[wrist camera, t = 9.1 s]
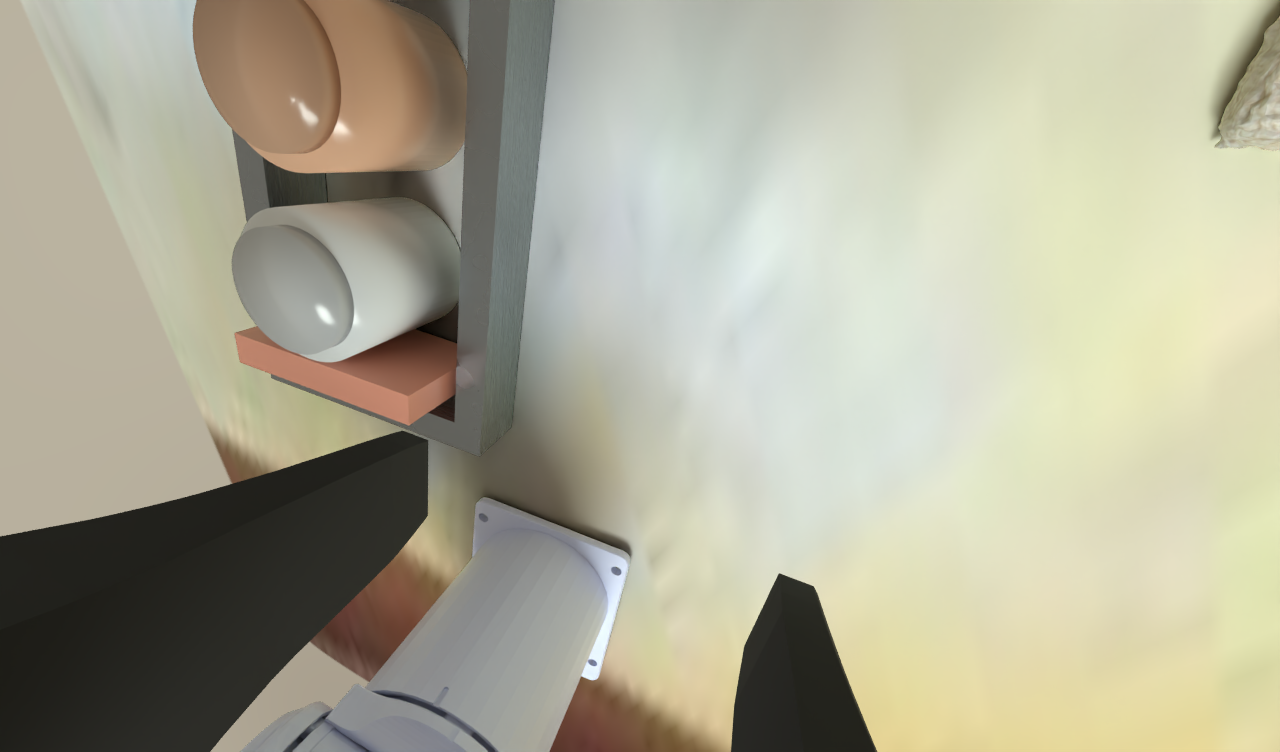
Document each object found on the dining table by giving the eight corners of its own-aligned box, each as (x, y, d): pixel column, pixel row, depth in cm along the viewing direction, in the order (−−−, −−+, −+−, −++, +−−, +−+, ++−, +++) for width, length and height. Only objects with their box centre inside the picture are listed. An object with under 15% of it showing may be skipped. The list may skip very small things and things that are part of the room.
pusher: (479, 394, 21) (409, 445, 17) (338, 344, 22) (243, 382, 19) (482, 351, 20) (408, 396, 16) (335, 302, 22) (234, 332, 18)
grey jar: (462, 334, 21) (357, 388, 16) (362, 302, 22) (234, 343, 17) (467, 214, 18) (346, 233, 14) (356, 183, 19) (205, 190, 14)
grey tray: (511, 427, 22) (479, 456, 20) (320, 358, 24) (271, 378, 21) (558, -43, 14) (515, -81, 12) (273, -93, 16) (190, -133, 14)
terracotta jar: (473, 180, 18) (350, 186, 13) (360, 160, 19) (206, 159, 14) (469, 14, 16) (320, -53, 11) (342, 2, 17) (153, -64, 12)
